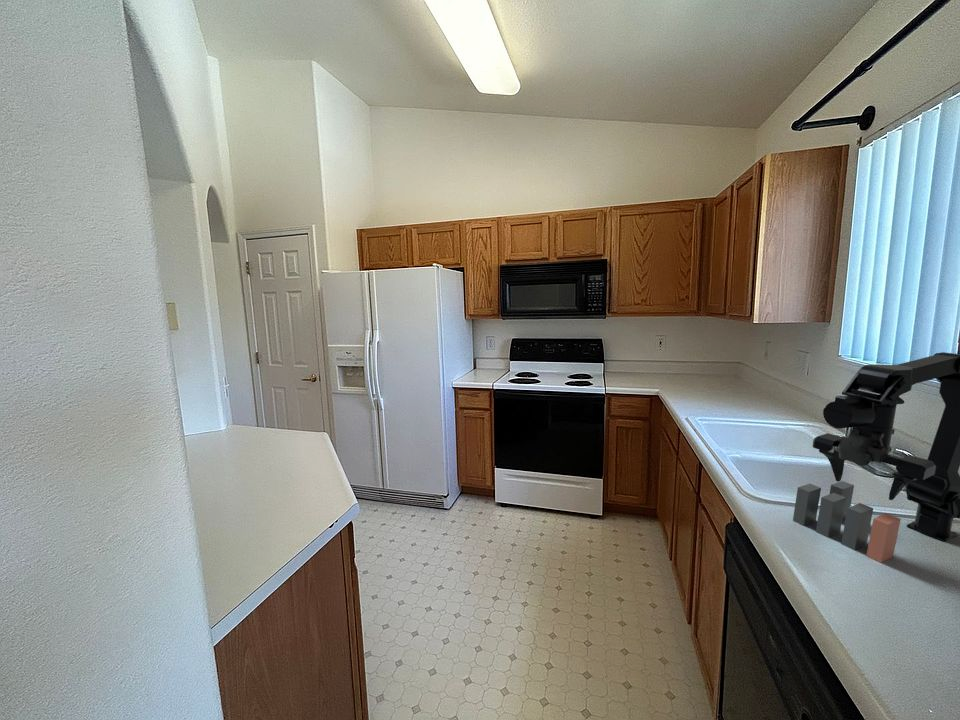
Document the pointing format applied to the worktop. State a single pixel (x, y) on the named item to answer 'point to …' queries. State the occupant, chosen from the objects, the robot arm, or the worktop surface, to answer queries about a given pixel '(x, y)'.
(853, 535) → the domino
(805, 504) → the domino
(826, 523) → the domino
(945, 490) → the robot arm
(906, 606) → the worktop surface
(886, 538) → the red domino
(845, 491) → the domino
